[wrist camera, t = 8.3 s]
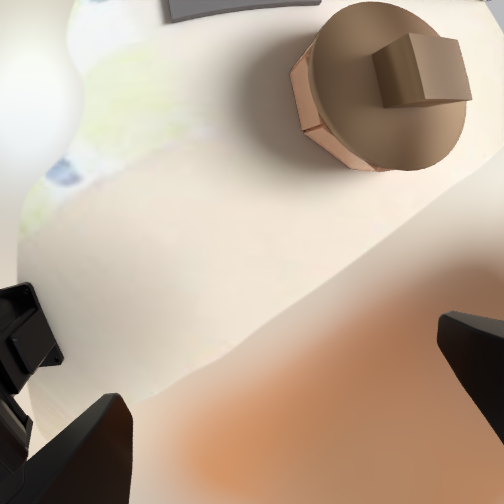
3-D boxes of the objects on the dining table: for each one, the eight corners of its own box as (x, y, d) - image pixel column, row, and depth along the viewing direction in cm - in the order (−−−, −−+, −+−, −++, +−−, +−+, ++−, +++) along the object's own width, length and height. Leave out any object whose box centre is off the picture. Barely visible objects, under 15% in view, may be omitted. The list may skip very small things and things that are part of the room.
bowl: (310, 176, 18) (330, 180, 15) (279, 33, 16) (292, 10, 12) (432, 158, 19) (464, 160, 15) (405, 33, 16) (433, 18, 13)
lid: (327, 182, 15) (368, 191, 11) (289, 7, 12) (313, -37, 8) (465, 161, 15) (520, 167, 11) (433, 16, 13) (480, -7, 8)
